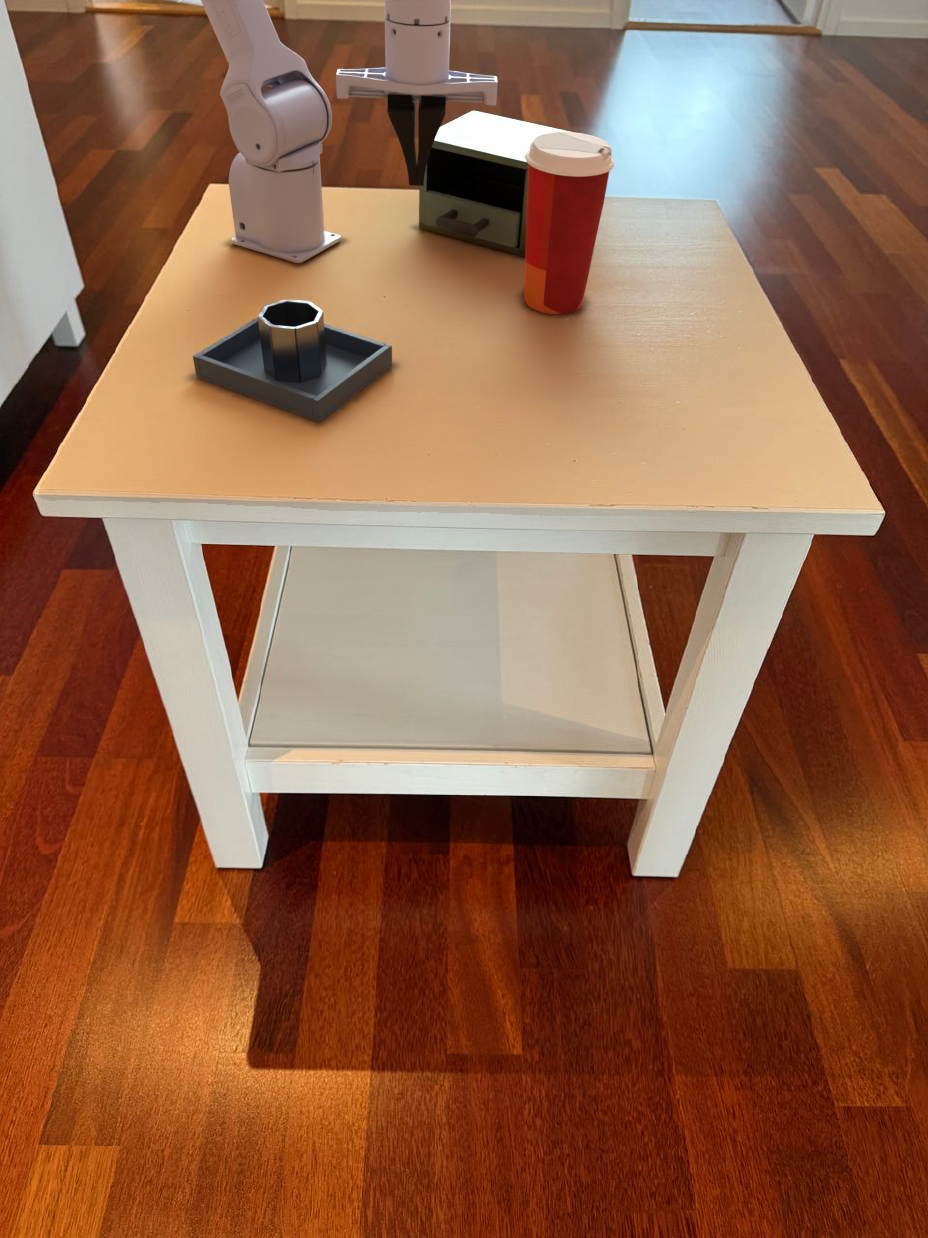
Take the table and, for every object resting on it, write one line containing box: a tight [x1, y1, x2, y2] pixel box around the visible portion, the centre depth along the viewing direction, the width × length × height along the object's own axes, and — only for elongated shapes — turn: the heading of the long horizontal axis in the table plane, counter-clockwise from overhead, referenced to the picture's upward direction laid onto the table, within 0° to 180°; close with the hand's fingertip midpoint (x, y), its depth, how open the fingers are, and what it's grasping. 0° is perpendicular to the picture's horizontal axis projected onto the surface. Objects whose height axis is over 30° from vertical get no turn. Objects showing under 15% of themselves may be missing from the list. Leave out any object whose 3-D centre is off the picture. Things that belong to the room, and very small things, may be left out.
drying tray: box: [192, 316, 393, 423], centre depth 81 cm, size 13×11×2 cm
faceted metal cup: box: [257, 299, 327, 383], centre depth 80 cm, size 5×5×5 cm
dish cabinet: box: [418, 110, 571, 258], centre depth 104 cm, size 14×12×10 cm
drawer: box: [426, 175, 525, 247], centre depth 104 cm, size 11×15×4 cm
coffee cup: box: [523, 131, 615, 315], centre depth 89 cm, size 8×8×15 cm
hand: (416, 181), depth 89 cm, fingers closed
